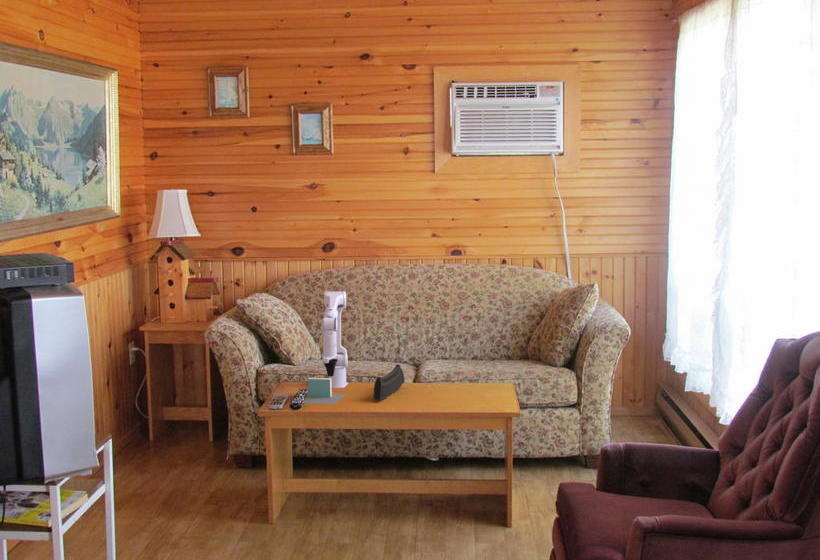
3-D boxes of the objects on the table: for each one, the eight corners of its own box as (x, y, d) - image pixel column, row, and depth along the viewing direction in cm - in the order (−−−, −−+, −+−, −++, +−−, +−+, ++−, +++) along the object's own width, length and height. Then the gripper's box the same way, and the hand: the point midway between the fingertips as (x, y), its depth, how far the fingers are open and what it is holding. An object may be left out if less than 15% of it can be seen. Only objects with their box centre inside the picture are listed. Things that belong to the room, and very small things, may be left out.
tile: (309, 395, 404) (309, 377, 403) (331, 396, 402) (331, 378, 401) (308, 396, 402) (307, 379, 401) (330, 397, 400) (329, 379, 399)
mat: (302, 393, 410) (302, 392, 409) (345, 394, 406) (345, 394, 406) (289, 403, 392) (289, 402, 392) (334, 405, 388) (334, 404, 388)
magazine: (377, 383, 388) (400, 350, 414) (370, 383, 389) (394, 350, 415) (382, 418, 394) (405, 383, 420) (375, 417, 396) (398, 383, 421)
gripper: (334, 348, 387) (335, 380, 389) (343, 342, 401) (344, 372, 403) (318, 348, 389) (319, 379, 390) (327, 341, 403) (328, 372, 404)
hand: (330, 376), depth 397 cm, fingers closed
